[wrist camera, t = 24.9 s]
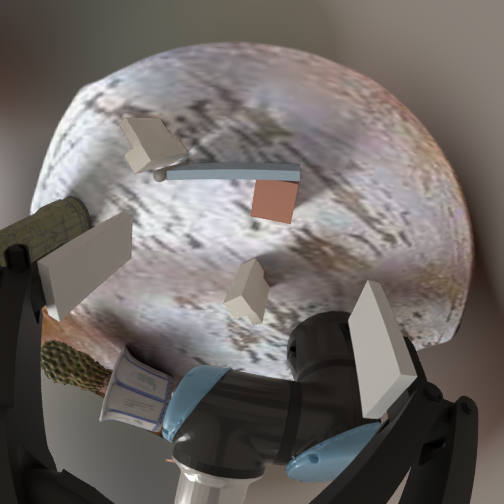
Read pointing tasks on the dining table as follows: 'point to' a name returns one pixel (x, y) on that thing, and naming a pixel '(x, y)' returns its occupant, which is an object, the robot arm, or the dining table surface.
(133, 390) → the potted plant
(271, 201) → the reddish brown block
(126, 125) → the doorframe
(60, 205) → the thermos
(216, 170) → the door
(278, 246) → the dining table surface
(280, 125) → the dining table surface
